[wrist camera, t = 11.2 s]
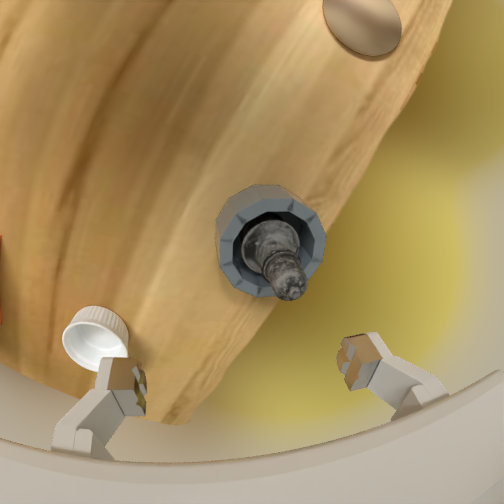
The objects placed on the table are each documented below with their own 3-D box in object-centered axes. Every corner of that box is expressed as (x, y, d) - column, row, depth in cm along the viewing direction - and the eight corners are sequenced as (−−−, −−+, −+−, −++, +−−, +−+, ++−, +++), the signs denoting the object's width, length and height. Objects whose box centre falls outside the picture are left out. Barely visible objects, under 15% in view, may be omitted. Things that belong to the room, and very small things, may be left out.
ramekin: (79, 348, 36) (72, 370, 32) (64, 299, 32) (53, 320, 28) (136, 352, 38) (133, 375, 34) (127, 302, 34) (121, 324, 30)
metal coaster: (322, -29, 20) (324, -31, 19) (397, -4, 22) (400, -5, 21) (321, 44, 24) (323, 43, 24) (398, 65, 26) (401, 64, 26)
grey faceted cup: (216, 185, 30) (219, 199, 25) (312, 185, 32) (331, 199, 27) (216, 274, 34) (220, 299, 30) (302, 269, 36) (316, 292, 32)
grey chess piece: (298, 240, 34) (343, 302, 23) (253, 267, 34) (280, 339, 24) (274, 197, 31) (317, 248, 20) (226, 227, 31) (243, 292, 21)
